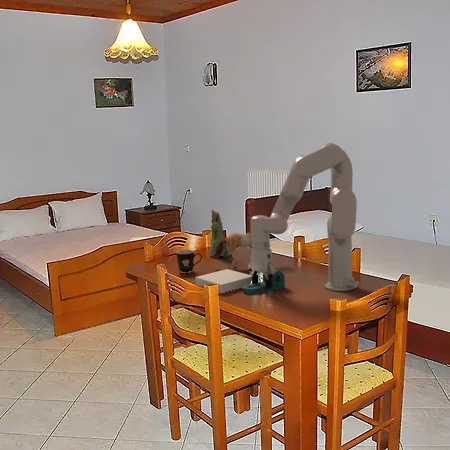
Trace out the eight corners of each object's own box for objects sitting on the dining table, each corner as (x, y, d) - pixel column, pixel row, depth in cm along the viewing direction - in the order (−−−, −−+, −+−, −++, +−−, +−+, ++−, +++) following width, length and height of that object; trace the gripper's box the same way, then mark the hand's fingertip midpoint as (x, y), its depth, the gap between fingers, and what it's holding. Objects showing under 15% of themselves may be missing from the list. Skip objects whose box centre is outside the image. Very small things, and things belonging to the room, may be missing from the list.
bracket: (276, 284, 243) (275, 266, 242) (284, 287, 237) (284, 269, 236) (240, 291, 235) (239, 273, 234) (248, 295, 229) (247, 276, 228)
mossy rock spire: (222, 259, 293) (219, 212, 288) (203, 257, 299) (200, 211, 295) (233, 254, 302) (231, 209, 297) (215, 252, 308) (212, 208, 304)
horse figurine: (270, 261, 283) (269, 221, 280) (275, 264, 276) (274, 223, 272) (211, 268, 275) (208, 227, 272) (215, 272, 268) (212, 230, 264)
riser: (253, 284, 243) (253, 276, 243) (221, 294, 232) (220, 284, 232) (227, 277, 257) (227, 269, 257) (195, 285, 246) (195, 277, 246)
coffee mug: (174, 273, 269) (173, 253, 267) (182, 269, 277) (180, 249, 275) (196, 274, 265) (195, 254, 263) (203, 270, 273) (202, 250, 271)
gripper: (281, 246, 228) (283, 288, 231) (253, 241, 242) (254, 280, 245) (268, 249, 224) (269, 292, 227) (240, 243, 237) (241, 284, 240)
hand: (262, 285), depth 236 cm, fingers closed on bracket, 7 cm apart
